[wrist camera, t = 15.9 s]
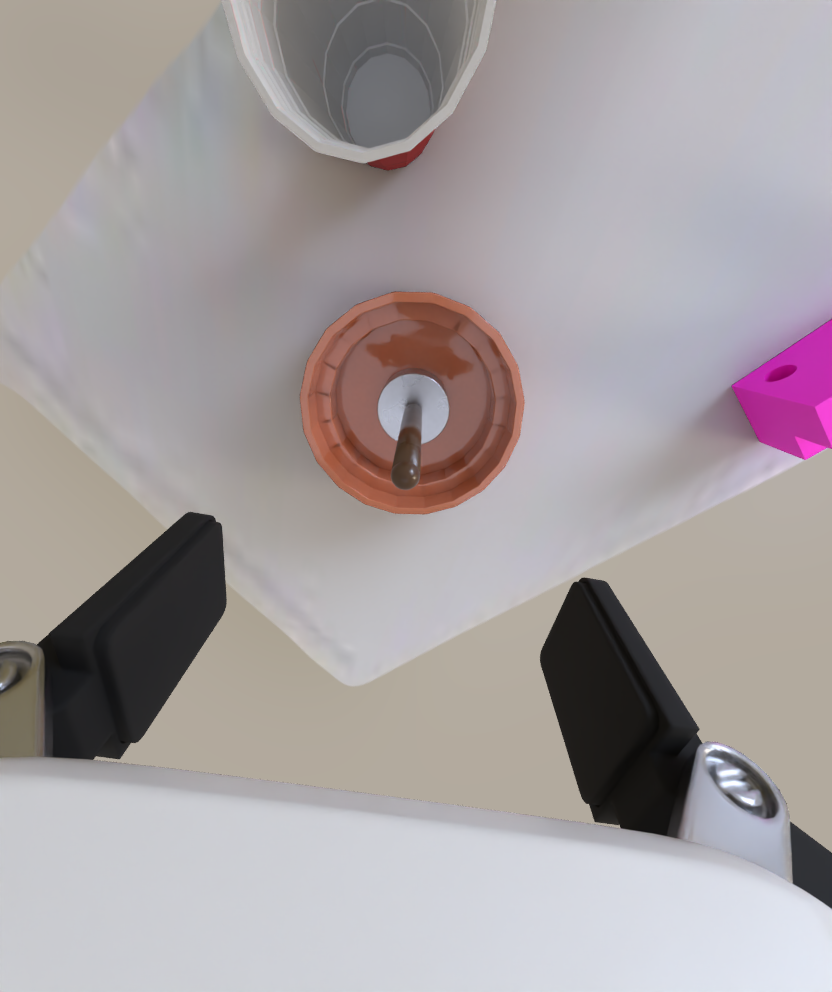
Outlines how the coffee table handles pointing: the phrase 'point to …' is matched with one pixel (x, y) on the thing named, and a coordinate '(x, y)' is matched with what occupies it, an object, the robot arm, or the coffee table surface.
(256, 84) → the plastic cup
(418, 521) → the coffee table surface
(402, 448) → the meat pounder
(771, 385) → the toy block
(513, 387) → the bowl
